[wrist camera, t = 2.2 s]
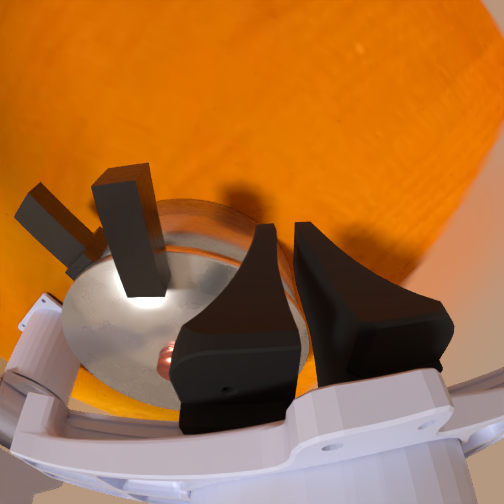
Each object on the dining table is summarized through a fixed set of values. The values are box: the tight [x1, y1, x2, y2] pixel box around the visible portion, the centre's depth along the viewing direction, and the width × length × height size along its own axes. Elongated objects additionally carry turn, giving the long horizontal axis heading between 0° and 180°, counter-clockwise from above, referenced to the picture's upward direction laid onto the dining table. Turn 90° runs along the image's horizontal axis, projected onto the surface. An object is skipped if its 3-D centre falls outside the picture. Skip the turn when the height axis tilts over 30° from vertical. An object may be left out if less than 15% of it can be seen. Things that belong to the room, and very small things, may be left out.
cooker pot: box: [14, 182, 297, 304], centre depth 22 cm, size 23×17×6 cm
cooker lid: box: [61, 163, 309, 411], centre depth 19 cm, size 22×18×3 cm
